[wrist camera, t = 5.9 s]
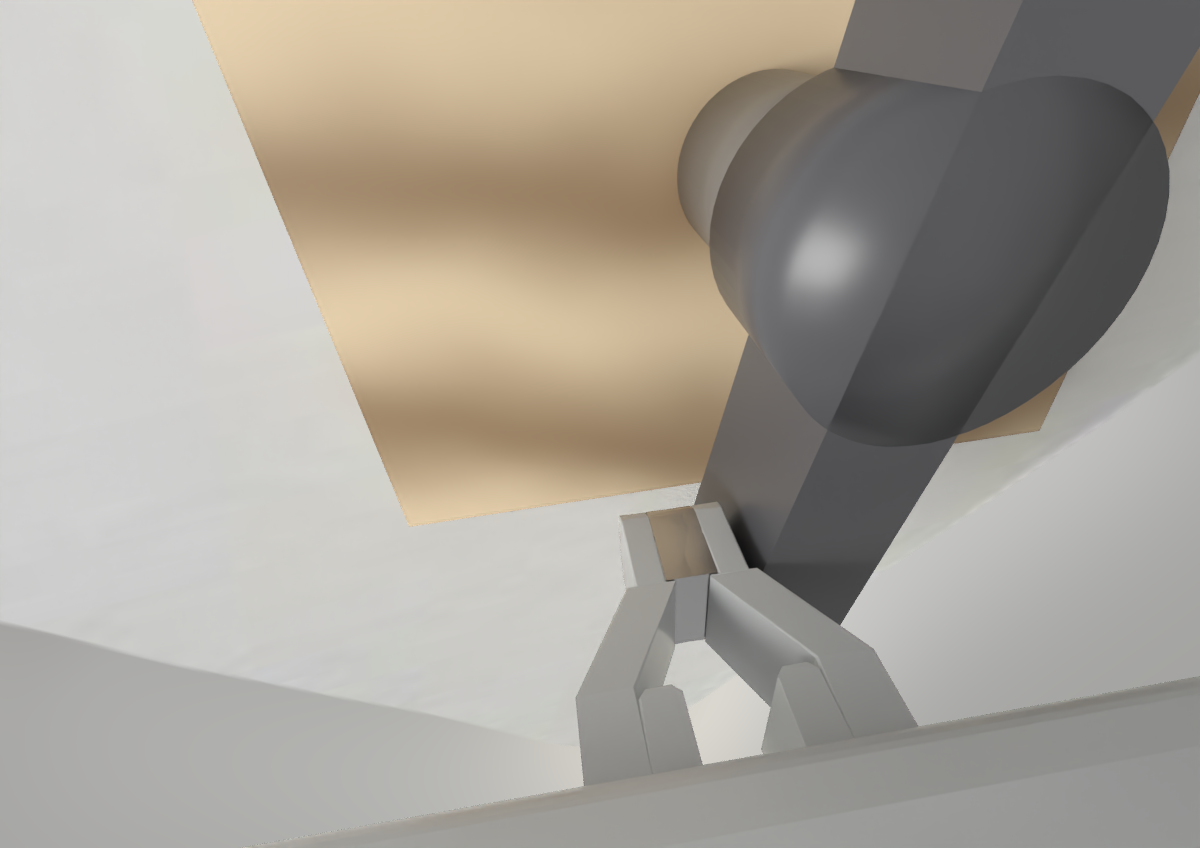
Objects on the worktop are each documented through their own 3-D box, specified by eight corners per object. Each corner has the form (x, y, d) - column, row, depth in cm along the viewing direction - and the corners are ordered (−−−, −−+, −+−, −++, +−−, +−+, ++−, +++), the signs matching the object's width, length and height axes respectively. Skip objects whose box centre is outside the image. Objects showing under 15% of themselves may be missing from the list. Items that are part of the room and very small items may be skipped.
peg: (764, -404, 8) (1395, -1446, 2) (1316, -220, 10) (2405, -534, 4) (609, 430, 16) (663, 654, 10) (927, 442, 17) (1117, 637, 12)
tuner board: (62, -468, 8) (-66, -604, 6) (1371, -544, 9) (1583, -682, 7) (418, 482, 19) (408, 531, 17) (996, 396, 20) (1044, 434, 18)
